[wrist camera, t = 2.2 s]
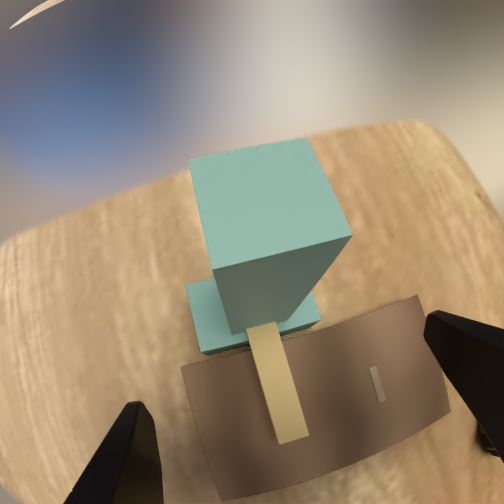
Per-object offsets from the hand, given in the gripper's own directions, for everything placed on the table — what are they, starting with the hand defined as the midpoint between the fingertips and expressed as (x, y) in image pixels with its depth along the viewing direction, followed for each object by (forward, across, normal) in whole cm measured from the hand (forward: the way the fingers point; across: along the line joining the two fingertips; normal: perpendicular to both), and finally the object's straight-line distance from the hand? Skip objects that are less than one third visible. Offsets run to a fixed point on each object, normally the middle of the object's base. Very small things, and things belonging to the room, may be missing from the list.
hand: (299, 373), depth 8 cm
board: (+6, -3, +10) cm, 12 cm away
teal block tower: (+9, 0, +7) cm, 11 cm away
